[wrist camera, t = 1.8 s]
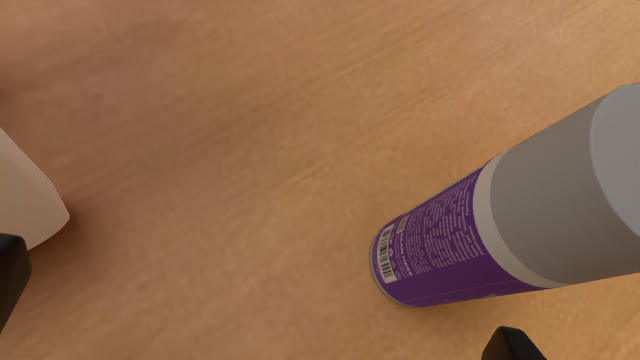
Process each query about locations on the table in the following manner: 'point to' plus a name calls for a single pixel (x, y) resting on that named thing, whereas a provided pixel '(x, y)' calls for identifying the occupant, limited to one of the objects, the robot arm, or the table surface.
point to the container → (526, 215)
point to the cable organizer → (27, 197)
